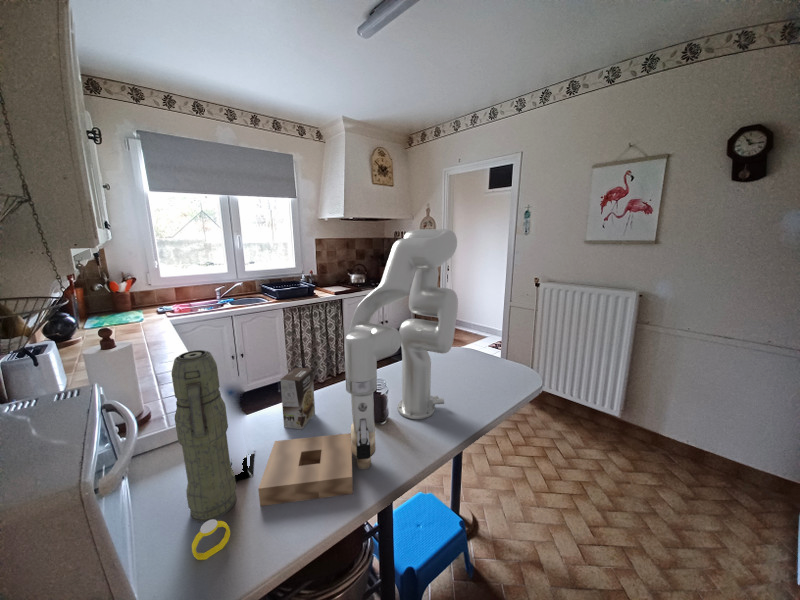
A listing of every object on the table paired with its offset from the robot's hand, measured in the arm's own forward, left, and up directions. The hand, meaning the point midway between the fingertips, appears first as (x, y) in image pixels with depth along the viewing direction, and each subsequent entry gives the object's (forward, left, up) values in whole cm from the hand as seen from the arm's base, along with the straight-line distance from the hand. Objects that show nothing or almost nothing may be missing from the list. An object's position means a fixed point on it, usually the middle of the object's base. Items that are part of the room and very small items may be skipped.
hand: (362, 445), depth 78 cm
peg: (0, 0, -6) cm, 6 cm away
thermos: (+33, +7, -6) cm, 34 cm away
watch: (+29, +18, -6) cm, 34 cm away
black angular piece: (+30, -4, -7) cm, 31 cm away
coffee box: (+19, -23, -6) cm, 31 cm away
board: (+13, +1, -6) cm, 14 cm away
